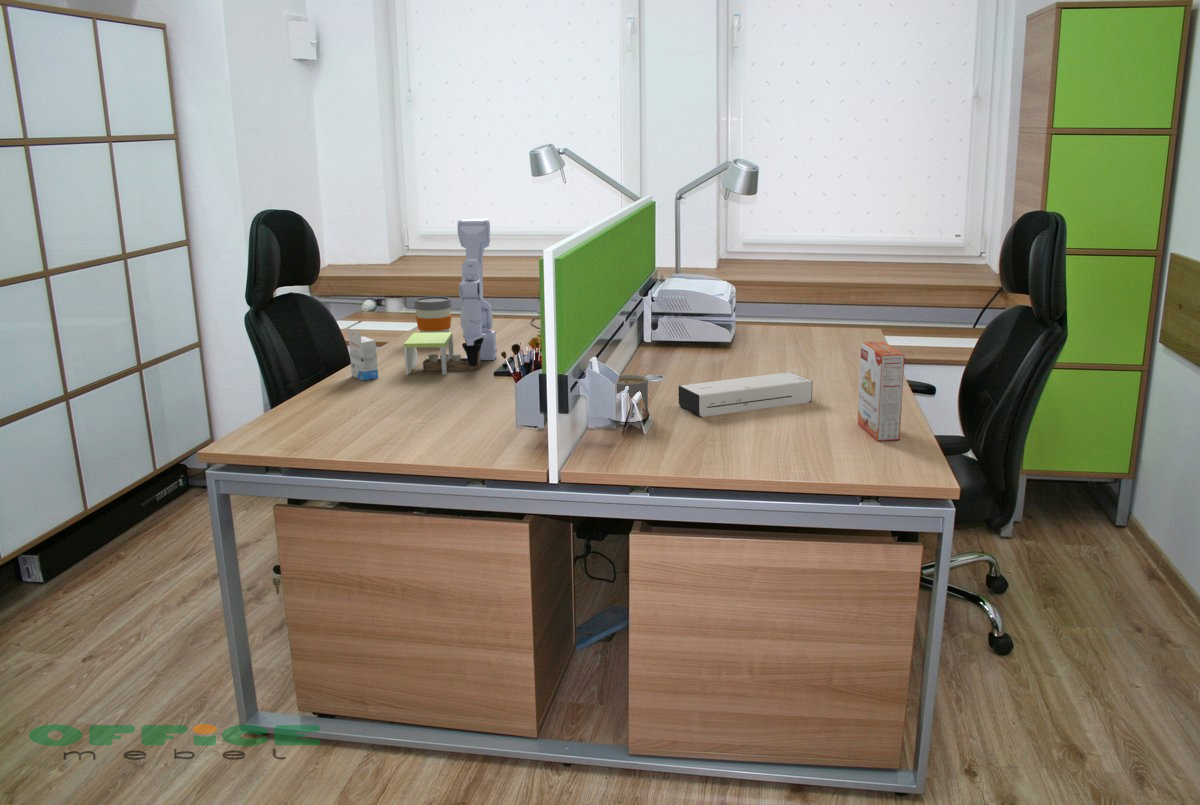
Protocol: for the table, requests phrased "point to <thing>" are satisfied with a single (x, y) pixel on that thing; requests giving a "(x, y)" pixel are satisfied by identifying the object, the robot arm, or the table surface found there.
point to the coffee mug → (634, 386)
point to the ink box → (362, 356)
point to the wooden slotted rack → (450, 363)
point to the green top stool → (427, 341)
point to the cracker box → (881, 390)
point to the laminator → (745, 394)
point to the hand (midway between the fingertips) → (474, 363)
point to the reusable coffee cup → (433, 314)
